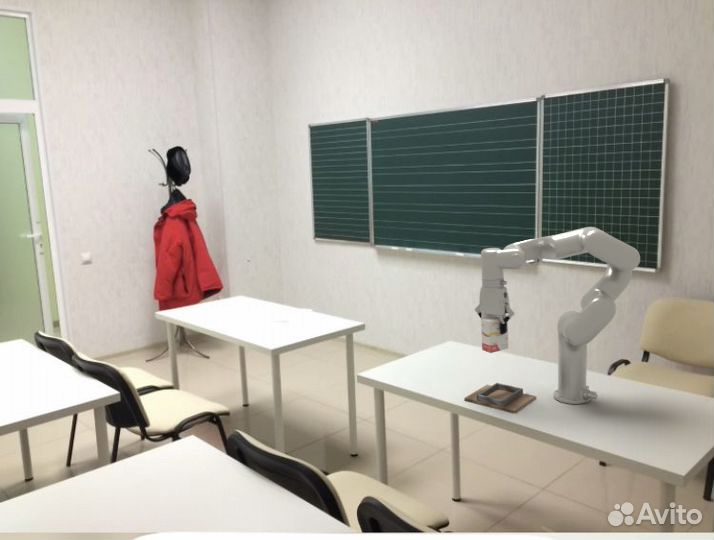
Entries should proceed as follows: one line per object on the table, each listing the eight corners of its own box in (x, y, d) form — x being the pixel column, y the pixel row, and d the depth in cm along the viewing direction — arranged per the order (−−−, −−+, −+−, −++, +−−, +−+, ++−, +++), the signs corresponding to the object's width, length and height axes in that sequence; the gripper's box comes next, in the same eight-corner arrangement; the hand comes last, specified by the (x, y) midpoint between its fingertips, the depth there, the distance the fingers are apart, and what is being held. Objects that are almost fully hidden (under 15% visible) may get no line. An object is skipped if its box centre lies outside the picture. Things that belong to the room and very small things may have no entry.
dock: (535, 398, 221) (535, 390, 220) (514, 413, 209) (514, 405, 209) (486, 387, 234) (486, 379, 234) (464, 400, 222) (464, 392, 222)
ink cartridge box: (491, 353, 216) (489, 313, 214) (481, 350, 221) (479, 310, 218) (509, 348, 220) (507, 308, 218) (499, 345, 224) (498, 306, 222)
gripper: (520, 283, 213) (522, 332, 216) (477, 279, 225) (479, 326, 228) (509, 287, 208) (511, 338, 211) (466, 283, 219) (468, 331, 223)
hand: (494, 331), depth 219 cm, fingers closed on ink cartridge box, 6 cm apart
